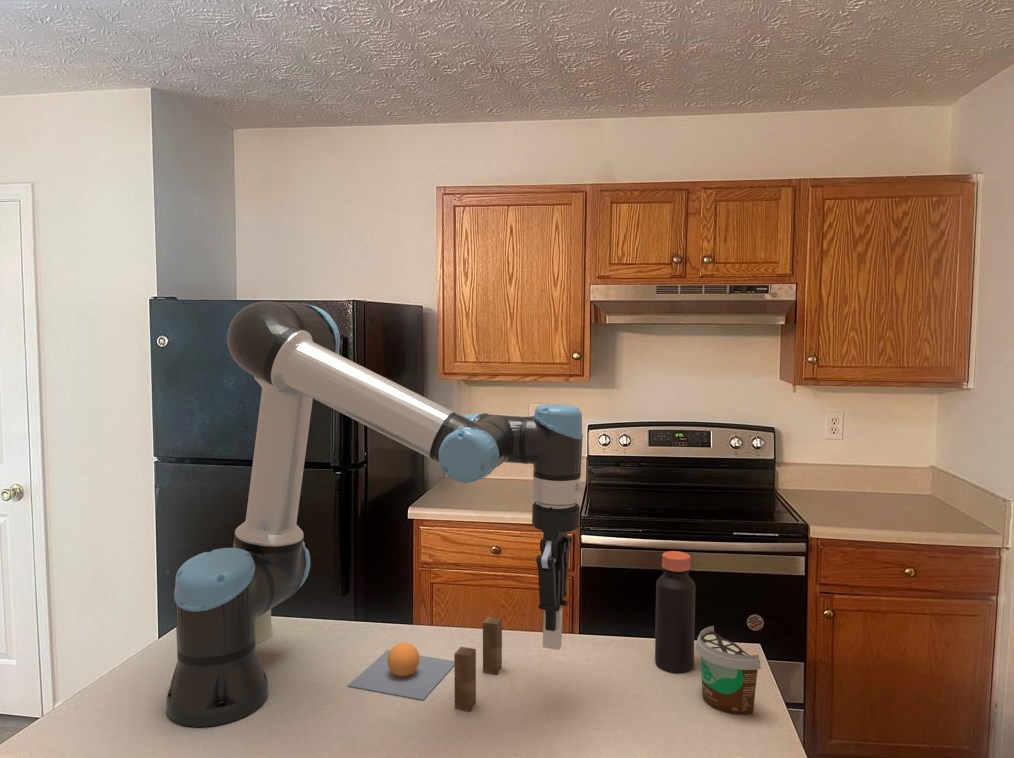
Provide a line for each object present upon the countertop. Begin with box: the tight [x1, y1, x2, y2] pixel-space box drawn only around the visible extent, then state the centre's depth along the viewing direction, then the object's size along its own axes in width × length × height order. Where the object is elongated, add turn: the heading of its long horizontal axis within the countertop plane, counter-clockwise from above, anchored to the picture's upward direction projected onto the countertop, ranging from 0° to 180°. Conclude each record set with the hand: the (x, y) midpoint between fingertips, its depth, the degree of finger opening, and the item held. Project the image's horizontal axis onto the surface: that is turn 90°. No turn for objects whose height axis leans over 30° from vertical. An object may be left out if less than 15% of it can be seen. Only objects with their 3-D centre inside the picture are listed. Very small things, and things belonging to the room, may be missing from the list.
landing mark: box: [347, 649, 454, 702], centre depth 125 cm, size 14×14×1 cm
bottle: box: [654, 550, 696, 674], centre depth 128 cm, size 7×7×20 cm
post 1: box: [453, 646, 477, 713], centre depth 114 cm, size 3×3×9 cm
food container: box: [695, 625, 762, 716], centre depth 115 cm, size 12×6×10 cm, turn 21°
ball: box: [387, 642, 420, 677], centre depth 124 cm, size 6×6×6 cm
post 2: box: [482, 616, 503, 676], centre depth 126 cm, size 3×3×9 cm
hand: (551, 646), depth 115 cm, fingers closed
